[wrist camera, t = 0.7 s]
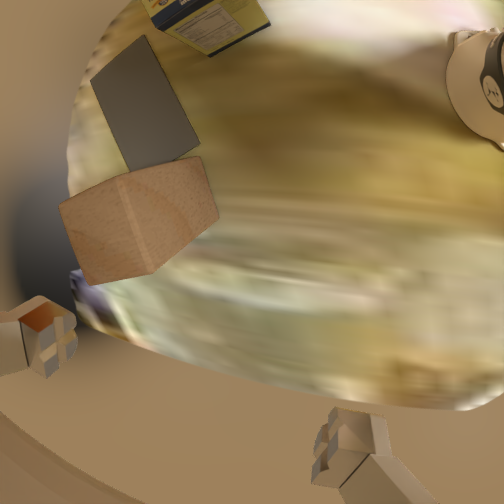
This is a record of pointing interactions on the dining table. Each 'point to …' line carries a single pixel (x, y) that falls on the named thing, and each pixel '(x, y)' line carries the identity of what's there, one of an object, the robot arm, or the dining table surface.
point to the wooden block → (138, 219)
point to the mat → (142, 108)
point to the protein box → (207, 21)
